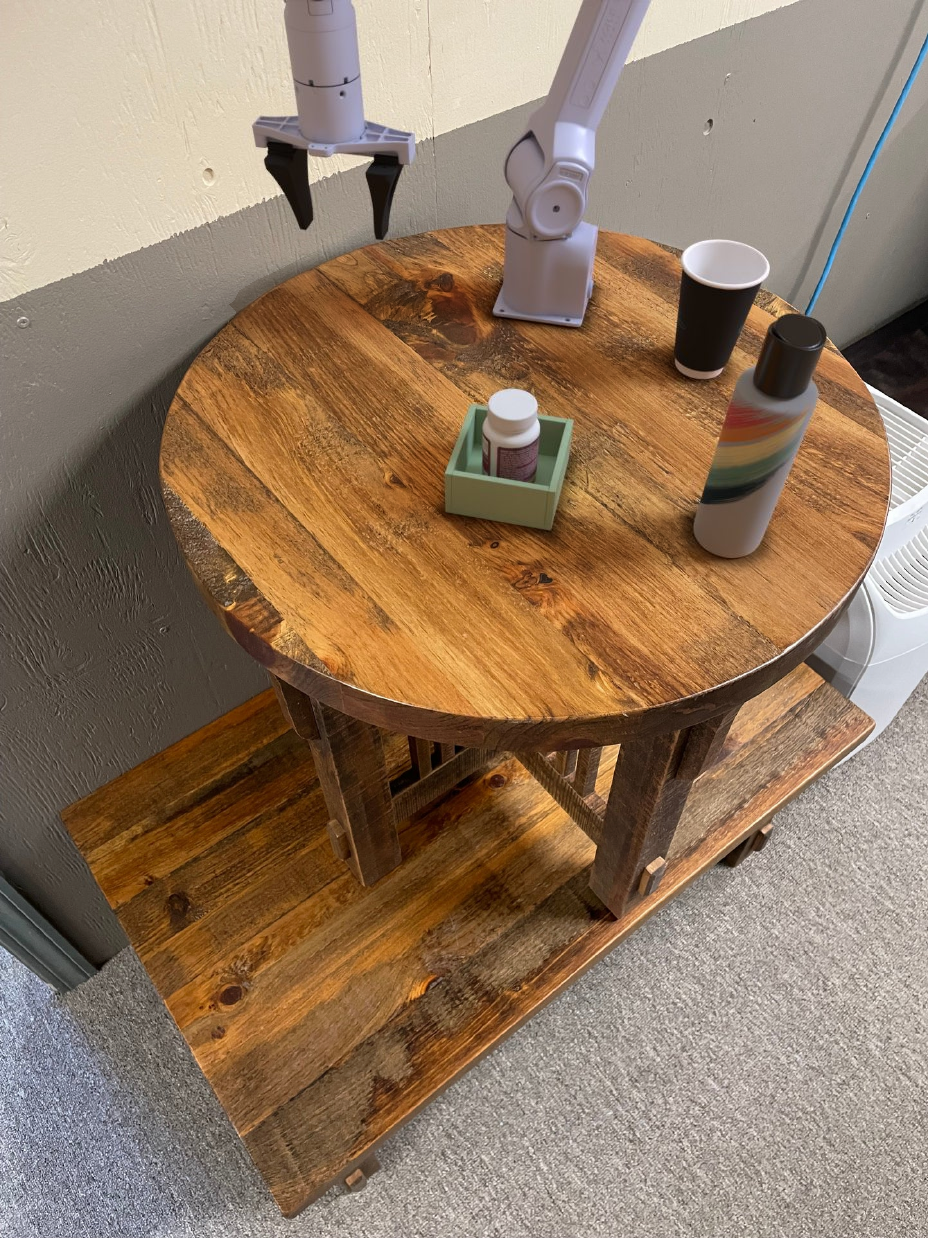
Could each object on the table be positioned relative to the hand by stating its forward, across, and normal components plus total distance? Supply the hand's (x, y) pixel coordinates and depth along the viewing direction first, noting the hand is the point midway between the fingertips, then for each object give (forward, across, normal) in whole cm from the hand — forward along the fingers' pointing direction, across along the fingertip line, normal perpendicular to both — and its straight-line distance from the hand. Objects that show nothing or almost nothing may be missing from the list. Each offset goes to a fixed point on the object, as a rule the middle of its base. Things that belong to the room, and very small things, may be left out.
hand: (344, 229), depth 83 cm
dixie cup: (+10, +36, +1) cm, 37 cm away
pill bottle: (+10, +21, -20) cm, 31 cm away
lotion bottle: (+10, +40, -22) cm, 47 cm away
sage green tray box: (+10, +21, -20) cm, 31 cm away
